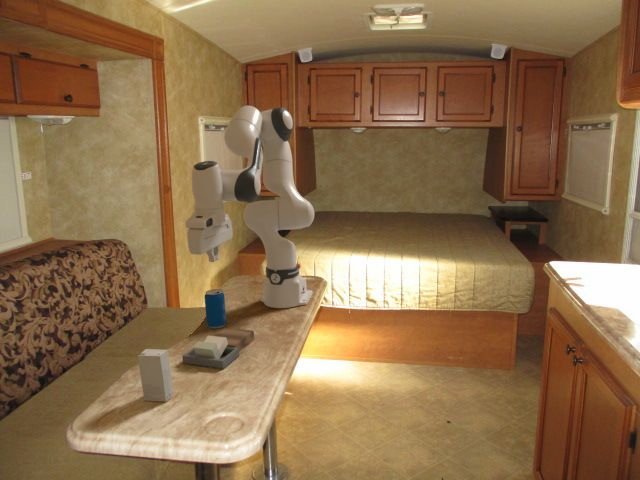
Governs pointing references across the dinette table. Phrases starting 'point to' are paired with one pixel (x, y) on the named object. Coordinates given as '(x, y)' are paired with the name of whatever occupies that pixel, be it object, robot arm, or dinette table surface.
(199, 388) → the dinette table surface
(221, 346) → the tile back
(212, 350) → the tile front
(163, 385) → the skincare box
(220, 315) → the beverage can
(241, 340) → the walnut plate
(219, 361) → the box
